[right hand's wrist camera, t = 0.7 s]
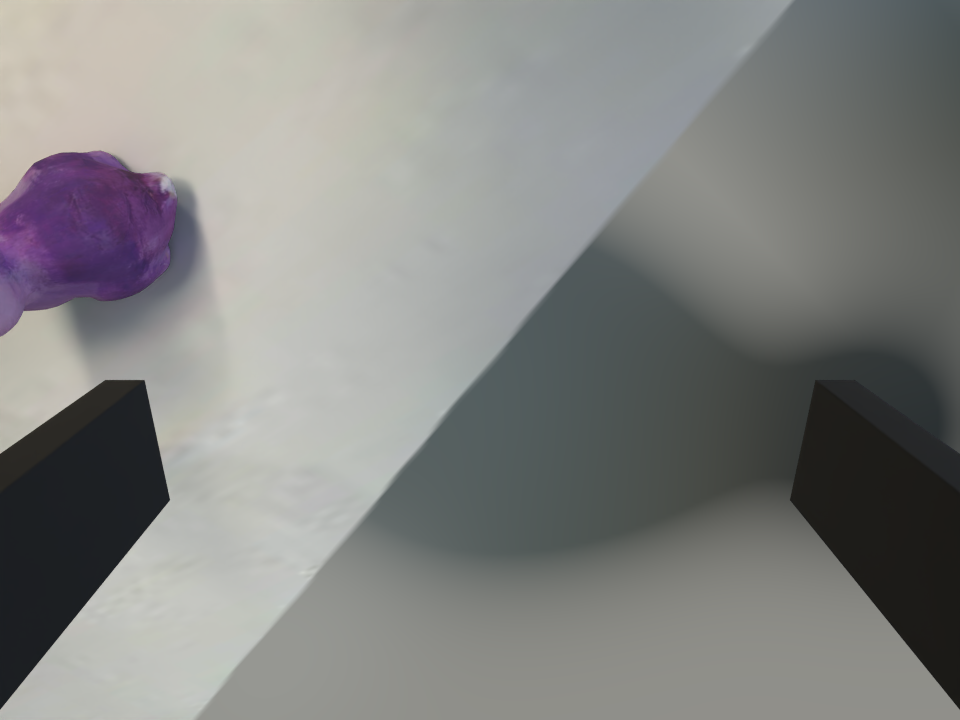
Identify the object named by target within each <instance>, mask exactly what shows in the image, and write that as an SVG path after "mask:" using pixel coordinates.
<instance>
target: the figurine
mask: <svg viewBox="0 0 960 720" xmlns="http://www.w3.org/2000/svg"><path fill="white" fill-rule="evenodd" d="M176 208H177V194H176V190H175V187H174V184H173V182H172V180H171V179H170V178H169V177H168V176H167V175H166V174H164V173H161V172H155V173H144V174H141V173H134V172H130V171H129V170H127V169H126V168H125V167H123V166H122V165H121V164H120V163H119V161H118V160H117V159H116V158H114V157H113V156H112V155H110V154H108V153H106V152H103V151H92V152H88V153H75V152H71V153H58V154H55V155H51V156H49V157H47V158H44V159H42V160H40V161H38V162H36V163H34V164H33V165H32V166H31V167H30V169H29V170H28V171H27V172H26V174H25V175H24V176H23V178H22V179H21V180H20V182H19V183H18V185H17V186H16V188H15V189H14V190H13V192H12V193H11V194H10V195H9V196H8V197H7V198H6V199H5V200H4V201H3V202H2V203H0V336H2V335H4V334H5V333H7V332H8V331H9V330H11V329H12V328H13V327H14V326H15V325H16V323H17V322H18V320H19V319H20V317H21V315H22V313H23V311H33V310H44V309H49V308H53V307H57V306H59V305H61V304H63V303H65V302H68V301H70V300H72V299H74V298H78V297H91V298H94V299H96V300H99V301H113V300H118V299H123V298H126V297H129V296H132V295H134V294H136V293H138V292H140V291H142V290H143V289H145V288H146V287H147V286H149V285H150V284H151V283H153V282H154V281H155V279H157V278H158V277H159V276H160V275H161V274H163V273H164V271H165V270H166V269H167V268H168V266H169V264H170V249H169V246H168V243H169V241H170V238H171V235H172V232H173V229H174V222H175V215H176Z"/></svg>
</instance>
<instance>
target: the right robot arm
mask: <svg viewBox="0 0 960 720" xmlns="http://www.w3.org/2000/svg"><path fill="white" fill-rule="evenodd" d="M169 501H170V498H169V493H168V489H167V484H166V479H165V474H164V470H163V465H162V460H161V456H160V451H159V446H158V442H157V437H156V432H155V427H154V423H153V418H152V413H151V409H150V404H149V399H148V394H147V390H146V385H145V380H105V381H103V382H102V383H101V384H99V385H98V386H96V387H95V388H94V389H92V390H91V391H89V392H88V393H86V394H85V395H84V396H82V397H81V398H79V399H78V400H76V401H75V402H74V403H72V404H71V405H69V406H68V407H66V408H65V409H64V410H62V411H61V412H59V413H58V414H56V415H55V416H54V417H52V418H51V419H49V420H48V421H46V422H45V423H44V424H42V425H41V426H39V427H38V428H36V429H35V430H34V431H32V432H31V433H29V434H28V435H26V436H25V437H24V438H22V439H21V440H19V441H18V442H17V443H15V444H14V445H12V446H11V447H9V448H8V449H7V450H5V451H4V452H2V453H1V454H0V709H1V708H2V707H3V705H4V704H5V703H6V702H7V701H8V699H9V698H10V697H11V696H12V694H13V693H14V692H15V691H16V689H17V688H18V687H19V686H20V684H21V683H22V682H23V681H24V680H25V678H26V677H27V676H28V675H29V673H30V672H31V671H32V670H33V668H34V667H35V666H36V665H37V663H38V662H39V661H40V660H41V659H42V657H43V656H44V655H45V654H46V652H47V651H48V650H49V649H50V647H51V646H52V645H53V644H54V643H55V641H56V640H57V639H58V638H59V636H60V635H61V634H62V633H63V631H64V630H65V629H66V628H67V626H68V625H69V624H70V623H71V622H72V620H73V619H74V618H75V617H76V615H77V614H78V613H79V612H80V610H81V609H82V608H83V607H84V605H85V604H86V603H87V602H88V601H89V599H90V598H91V597H92V596H93V594H94V593H95V592H96V591H97V589H98V588H99V587H100V586H101V585H102V583H103V582H104V581H105V580H106V578H107V577H108V576H109V575H110V573H111V572H112V571H113V570H114V568H115V567H116V566H117V565H118V564H119V562H120V561H121V560H122V559H123V557H124V556H125V555H126V554H127V552H128V551H129V550H130V549H131V547H132V546H133V545H134V544H135V543H136V541H137V540H138V539H139V538H140V536H141V535H142V534H143V533H144V531H145V530H146V529H147V528H148V527H149V525H150V524H151V523H152V522H153V520H154V519H155V518H156V517H157V515H158V514H159V513H160V512H161V510H162V509H163V508H164V507H165V506H166V504H167V503H168V502H169ZM790 501H791V502H792V503H793V504H794V506H795V507H796V508H797V509H798V510H799V512H800V513H801V514H802V515H803V517H804V518H805V519H806V520H807V521H808V523H809V524H810V525H811V527H812V528H813V529H814V530H815V531H816V533H817V534H818V535H819V536H820V538H821V539H822V540H823V541H824V543H825V544H826V545H827V546H828V547H829V549H830V550H831V551H832V552H833V554H834V555H835V556H836V557H837V559H838V560H839V561H840V562H841V564H842V565H843V566H844V567H845V568H846V570H847V571H848V572H849V573H850V575H851V576H852V577H853V578H854V580H855V581H856V582H857V583H858V585H859V586H860V587H861V588H862V589H863V591H864V592H865V593H866V594H867V596H868V597H869V598H870V599H871V600H872V602H873V603H874V604H875V605H876V607H877V608H878V609H879V610H880V612H881V613H882V614H883V615H884V617H885V618H886V619H887V620H888V621H889V623H890V624H891V625H892V626H893V628H894V629H895V630H896V631H897V633H898V634H899V635H900V636H901V638H902V639H903V640H904V641H905V642H906V644H907V645H908V646H909V647H910V649H911V650H912V651H913V652H914V654H915V655H916V656H917V657H918V659H919V660H920V661H921V662H922V663H923V665H924V666H925V667H926V668H927V670H928V671H929V672H930V673H931V675H932V676H933V677H934V678H935V680H936V681H937V682H938V683H939V684H940V686H941V687H942V688H943V689H944V691H945V692H946V693H947V694H948V696H949V697H950V698H951V699H952V700H953V702H954V703H955V704H956V705H957V707H958V708H959V709H960V454H959V453H958V452H956V451H955V450H953V449H952V448H951V447H949V446H948V445H946V444H945V443H943V442H942V441H941V440H939V439H938V438H936V437H935V436H934V435H932V434H931V433H929V432H928V431H926V430H925V429H923V428H922V427H921V426H919V425H918V424H916V423H915V422H913V421H912V420H911V419H909V418H908V417H906V416H905V415H904V414H902V413H901V412H899V411H898V410H896V409H895V408H894V407H892V406H891V405H889V404H888V403H886V402H885V401H883V400H882V399H881V398H879V397H878V396H876V395H875V394H874V393H872V392H871V391H869V390H868V389H866V388H865V387H864V386H862V385H861V384H859V383H858V382H857V381H855V380H816V381H815V385H814V390H813V394H812V399H811V404H810V409H809V413H808V418H807V423H806V428H805V432H804V437H803V442H802V446H801V451H800V456H799V460H798V465H797V470H796V474H795V479H794V484H793V489H792V493H791V498H790Z"/></svg>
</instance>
